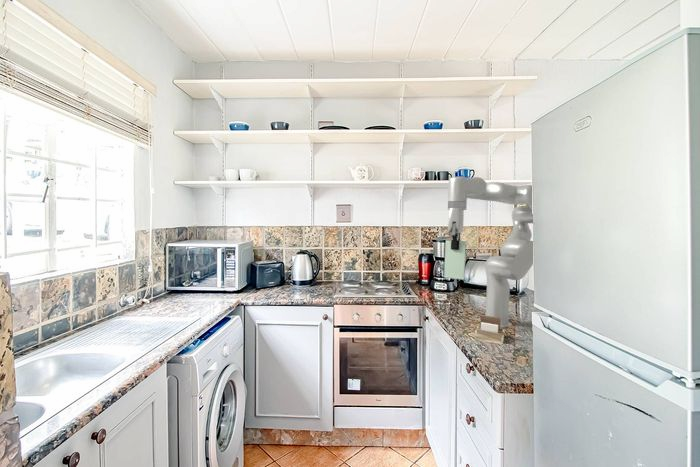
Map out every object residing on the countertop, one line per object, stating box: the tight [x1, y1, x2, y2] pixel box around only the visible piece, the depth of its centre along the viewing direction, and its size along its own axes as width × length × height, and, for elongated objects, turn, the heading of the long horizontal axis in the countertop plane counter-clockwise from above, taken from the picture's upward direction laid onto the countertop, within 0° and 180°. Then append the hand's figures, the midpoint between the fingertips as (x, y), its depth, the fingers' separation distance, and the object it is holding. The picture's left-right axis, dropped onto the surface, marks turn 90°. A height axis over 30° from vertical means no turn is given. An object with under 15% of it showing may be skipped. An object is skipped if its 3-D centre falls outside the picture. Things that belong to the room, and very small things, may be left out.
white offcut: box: [480, 321, 498, 333], centre depth 119 cm, size 2×6×6 cm, turn 61°
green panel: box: [443, 239, 467, 280], centre depth 131 cm, size 2×8×16 cm, turn 61°
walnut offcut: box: [479, 314, 500, 331], centre depth 122 cm, size 2×7×8 cm, turn 61°
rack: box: [474, 322, 505, 345], centre depth 122 cm, size 11×10×5 cm
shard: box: [467, 321, 478, 326], centre depth 142 cm, size 11×8×2 cm
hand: (455, 249), depth 131 cm, fingers closed on green panel, 2 cm apart
